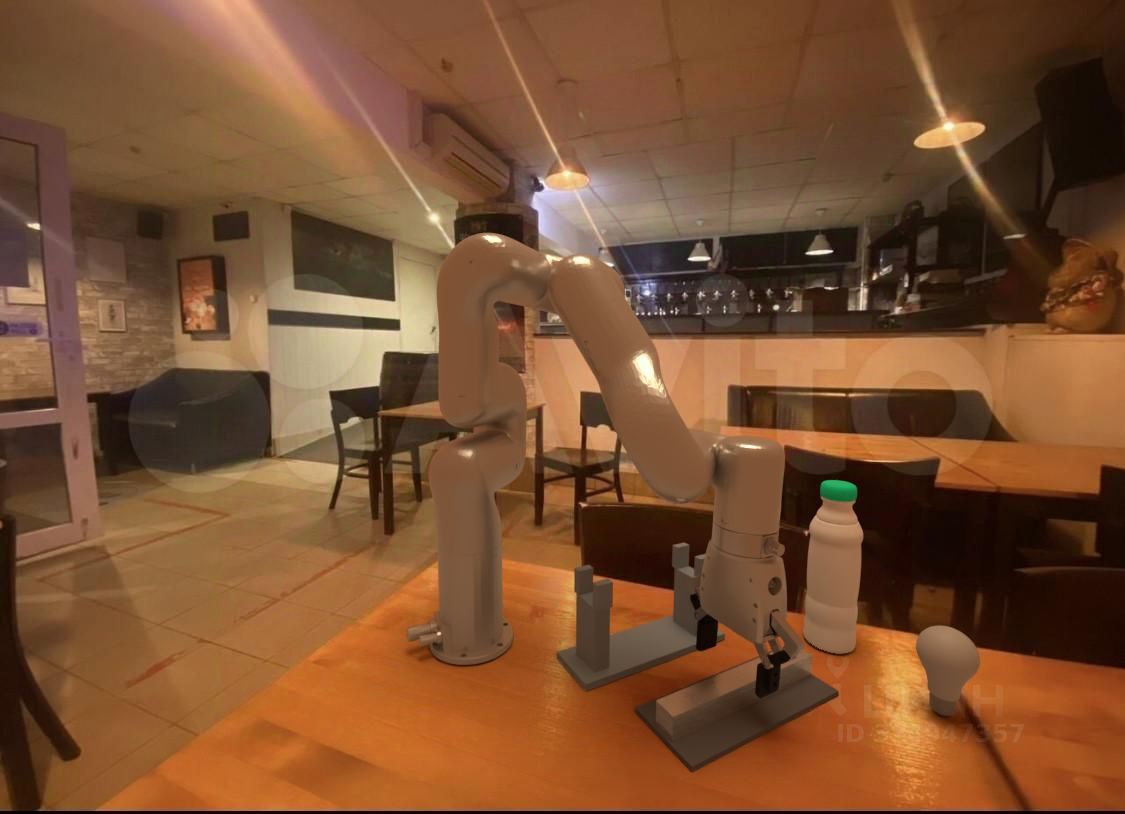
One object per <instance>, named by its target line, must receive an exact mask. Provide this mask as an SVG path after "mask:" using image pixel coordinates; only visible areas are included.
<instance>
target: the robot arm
mask: <svg viewBox="0 0 1125 814" xmlns="http://www.w3.org/2000/svg"><path fill="white" fill-rule="evenodd" d="M497 302H503V303H507V304H511V305H517V306H521V307H526V308H530V309H534V310H538V311H543V312H545V313H549V314H553V315H557V316H558V318H559V320H560V321H561V322H562V324H563V326H564V328H565V329H566V331H567V333H568V334H569V336H570V337H571V339H572V341H573V342H574V344H575V345H576V347H577V349H578V351H579V352H580V354H581V356H582V358H583V359H584V361H585V362H586V365H587V366H588V368H589V369H590V372H591V373H592V374H593V376H594V378H595V380H596V382H597V384H598V387H599V390H600V395H601V397H602V400H603V403H604V405H605V407H606V410H607V413H608V417H609V418H610V421H611V424H612V426H613V428H614V431H615V433H616V435H617V437H618V439H619V442H620V443H621V445H622V447H623V448H624V451H626V453H627V455H628V458H630V461H631V462H632V463H633V466H634V467H635V469H636V470H637V472H638V474H639V476H640V477H641V478H642V480H643V481H644V483H645V484H646V485H647V487H648V488H649V489H650V490H651V491H652V492H653V493H654V494H655V495H656V496H657V497H658V498H660V499H662V501H665V502H666V503H667V502H668V503H670V504H671V503H672V504H676V505H677V504H678V505H684V504H685V505H686V504H691V503H692V502H695V501H697V500H698V499H700V498H702V496H704V495H705V494H706V492H707V491H708V489H709V487H712V488H714V501H713V517H712V528H711V529H712V530H711V539H709V541H708V543H707V548H706V550H705V553H704V554H705V559H704V563H703V569H702V576H695V577H691V578H688V579H687V584H688V588H689V592H690V593H691V595H690V600H691V602H692V605H693V607H694V609H695V612H694V617H695V619H696V620H698V623H697V638H696V649H697V650H696V651H698V652H704V651H706V650H710V649H712V648H715V647H716V646H717V643H718V642H717V633H718V629H719V623H720V624H722V625H723V626H724V627H726V628H727V629H729V630H731V631H732V632H733V633H735V634H737V635H738V636H740V637H741V638H743V639H744V640H746V641H747V642H749V643H751V644H753V645H754V647H755V649H756V652H757V654H758V656H759V657H760V659H761V661H762V662H761V663H759V664H758V665H757V673H756V685H755V693H756V695H757V696H758V697H759V698H762V697H765V696H767V695H769V694H771V693H774V692H776V691H777V690H778V688H779V681H780V670H781V664H784V663H786V662H789V661H791V660H793V659H795V658H796V656H797V655H798V654H799V653H800V652H801V650H804V648H805V647H806V646H805V645H806V644H805V642H804V640H803V639H802V637H800V635H799V634H798V633H797V632H796V630H795V629H794V628H793V627H792V626H791V625H790V624H789V622H788V621H787V612H788V606H787V605H788V604H787V603H788V594H787V593H788V592H787V591H788V590H787V579H786V578H787V577H786V570H785V569H786V568H785V565H784V560H783V557H781V556H783V555H784V553H785V549H786V547H785V545H784V544H781V543H780V542H779V536H780V535H779V534H780V533H779V532H780V520H781V511H782V498H783V497H782V496H783V486H784V474H785V465H786V464H785V461H786V453H785V449H784V447H783V446H782V445H781V444H780V443H779V442H777V441H776V440H774V439H770V438H767V437H766V438H765V437H760V436H749V435H735V436H734V435H732V436H729V435H724V434H719V433H715V432H709V431H706V430H701V429H695V428H690V427H689V428H688V426H687V425H686V423H685V421H684V419H683V418H682V417H681V414H680V413H679V411H678V409H677V407H676V406H675V404H674V402H673V399H672V398H671V396H670V394H669V392H668V389H667V387H666V384H665V382H664V379H663V375H662V370H661V364H660V363H661V362H660V356H659V352H658V351H657V348H656V346H655V344H654V342H653V341H652V339H651V337H650V335H649V334H648V332H647V331H646V329H645V328H644V326H643V325H642V323H641V321H640V320H639V318H638V316H637V315H636V313H635V311H634V310H633V309H632V307H631V305H630V304H629V302H628V301H627V298H626V290H625V285H624V282H623V279H622V277H621V275H620V274H619V273H618V272H617V271H616V270H615V269H614V267H611V266H610V265H608V264H607V263H606V262H604V261H603V260H600V258H598V257H597V256H596V257H595V256H593V255H591V254H585V253H575V254H570V255H568V256H565V257H562V256H557V255H553V254H550V253H546V252H542V251H539V250H536V249H534V248H531V247H530V246H528V245H526V244H523V243H522V242H520V241H518V240H517V239H514V238H512V237H509V236H506V235H503V234H499V233H494V232H482V233H481V232H480V233H476V234H472V235H470V236H468V237H465V238H464V239H463V240H461V241H460V242H457V244H456V245H454V247H452V249H451V250H450V251H449V252H448V254H447V255H446V257H445V259H444V260H443V262H442V263H441V266H440V269H439V272H438V277H437V281H436V309H437V320H438V403H439V406H438V407H439V410H440V414H441V415H442V417H443V419H444V420H445V421H446V422H447V423H448V424H450V425H451V426H453V427H456V428H458V429H459V428H460V429H473V433H470V434H468V435H467V434H466V435H464V436H461V437H458V438H457V437H456V438H455V439H453V440H450V441H448V442H446V443H445V444H444V445H442V446H441V447H439V449H437V451H435V453H434V455H433V457H432V459H431V461H430V463H429V465H428V466H429V467H428V484H429V487H430V494H431V498H432V501H433V506H434V511H435V523H436V543H437V544H436V546H437V547H436V548H437V571H438V573H437V577H438V581H437V582H438V583H437V584H438V607H439V608H438V611H434V612H433V619H431V620H430V619H429V620H428V621H427V623H425V624H418V625H414V626H413V625H412V626H410V627H407V628H406V638H407V641H408V642H409V643H410V642H414V641H417V640H418V641H419V646H420V647H421V648H422V647H425V646H428V645H429V650H430V652H431V653H432V655H433V656H434V657H435V658H436V659H439V660H440V661H442V662H444V663H446V664H447V663H448V664H450V665H451V664H452V665H457V666H458V665H459V666H471V665H479V664H483V663H486V662H489V661H492V660H494V659H496V658H498V657H499V656H501V655H502V654H504V653H505V652H506V651H507V650H508V649H509V648H511V645H512V643H513V640H514V629H513V626H512V624H511V623H510V622H509V621H508V620H507V619H506V618H505V617H504V614H503V613H504V612H503V611H504V605H503V603H504V601H503V598H504V597H503V596H504V595H503V593H504V592H503V539H502V537H503V536H502V534H503V532H502V521H501V519H502V518H501V516H500V512H499V508H498V506H497V504H496V499H495V493H496V492H497V491H498V490H500V489H502V488H505V487H506V486H507V485H509V484H511V483H512V482H513V481H515V480H516V479H518V477H519V476H520V475H521V473H522V471H523V469H524V466H525V461H526V455H527V454H526V452H527V421H528V419H527V415H528V409H527V408H528V407H527V405H528V397H527V390H526V386H525V383H524V380H523V378H522V376H521V375H520V374H519V372H518V370H516V369H515V368H514V367H512V366H511V365H509V364H507V363H504V362H500V353H499V352H500V351H499V349H500V330H499V325H498V322H497V318H496V315H495V311H494V305H495V303H497ZM779 638H780V639H781V640H782V641H783V645H784V646H782V644H781V643H780V640H779ZM766 643H768V645H769V647H770V649H771V651H772V652H773V654H772V655H770V653H769V652H770V651H769V649H768V647H767V644H766Z"/></svg>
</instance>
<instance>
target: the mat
mask: <svg viewBox="0 0 1125 814" xmlns="http://www.w3.org/2000/svg"><path fill="white" fill-rule="evenodd" d="M769 653H772V650H770V651H769ZM757 658H760V657H759V655H758V656H756V657H753V658H750V659H748V660H746V661H744V662H741V663H738V664H737V665H734V666H731V667H728V668H726V669H724V670H721V671H720V672H716V673H714V674H713V675H710V676H707V677H705V678H703V679H700V680H698V681H695V682H692V683H691V684H687V685H686V686H683V687H681V688H678V689H676V690H673V691H671V692H668V693H666V694H664V695H662V696H659V697H657V698H654V699H652V700H649V701H646V702H644V703H642V704H638V706H635V707H634V713H635V714H637V715H638V717H639V718H640V719H641V720H642V721H643V722H644V723H645V725H647V726H648V727H649V728H650V730H652V732H653V733H654V734H655V735H656V736H657V737H658V738H659V739H660V740H661V741H662V742H663V743H664V744H665V746H667V748H668V749H669V750H670V751H671V752H672V753H673V754H674V755H675V756H676V758H678V759H679V760H680V761H681V762H682V764H683V765H685V767H686V768H687V769H688V770H689V771H690V772H691V773H693V772H695V771H697V770H699V769H701V768H702V767H704V766H706V765H708V764H710V763H712V762H714V761H716V760H718V759H720V758H721V757H724V756H725V755H727V754H730V753H731V752H733V751H734V750H737V749H739V748H741V747H742V746H744V745H746V744H748V743H750V742H752V741H754V740H756V739H758V738H760V737H762V736H764V735H765V734H767V733H769V732H771V731H774V730H775V729H777V728H778V727H780V726H782V725H784V724H787V723H788V722H790V721H792V720H794V719H796V718H798V717H800V716H801V715H803V714H805V713H808V712H810V711H811V710H813V709H815V708H817V707H819V706H821V705H822V704H825V703H826V701H827V702H829V701H831V700H832V699H834V698H836V697H838V696H839V693H840V692H839V690H838V689H837V688H835V687H833V686H832V685H830V684H828V683H827V682H825V681H823V680H822V679H820V678H819V677H817V676H815V675H814V674H812V673H811V676H810V677H808V678H806V679H804V680H802V681H800V682H798V683H795V684H793V685H791V686H789V687H787V688H785V689H783V690H781V691H779V692H776V693H774V694H772V695H770V696H768V697H766V698H764V699H762V700H760V701H757V702H755V703H753V704H751V705H749V706H747V707H745V708H743V709H741V710H738V711H736V712H734V713H732V714H730V715H728V716H726V717H724V718H722V719H719V720H717V721H715V722H713V723H711V724H709V725H707V726H705V727H703V728H700V729H698V730H696V731H694V732H692V733H690V734H688V735H686V736H684V737H681V738H679V739H677V740H675V741H672V740H671V739H670V738H669V737H668V736H667V735H666V734H665V733H664V732H663V731H662V730H661V729H660V728H659V727H658V726H657V725H656V700H658V699H661V698H663V697H666V696H668V695H670V694H673V693H675V692H678V691H680V690H682V689H685V688H687V687H690V686H692V685H694V684H697V683H699V682H702V681H704V680H706V679H709V678H711V677H714V676H716V675H719V674H721V673H723V672H726V671H728V670H731V669H733V668H735V667H738V666H740V665H743V664H745V663H747V662H750V661H752V660H755V659H757ZM824 702H825V703H824ZM818 705H819V706H818ZM816 706H817V707H816ZM814 707H815V708H814ZM810 709H811V710H810Z"/></svg>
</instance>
